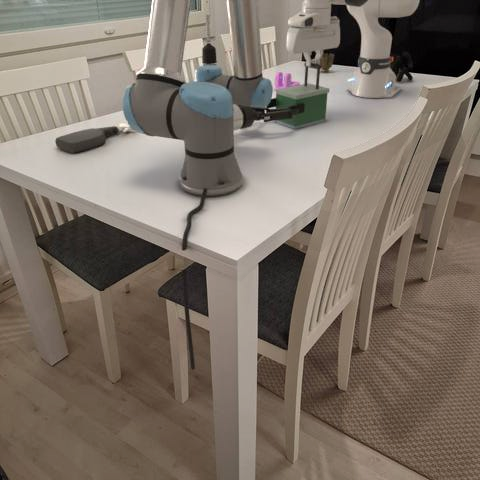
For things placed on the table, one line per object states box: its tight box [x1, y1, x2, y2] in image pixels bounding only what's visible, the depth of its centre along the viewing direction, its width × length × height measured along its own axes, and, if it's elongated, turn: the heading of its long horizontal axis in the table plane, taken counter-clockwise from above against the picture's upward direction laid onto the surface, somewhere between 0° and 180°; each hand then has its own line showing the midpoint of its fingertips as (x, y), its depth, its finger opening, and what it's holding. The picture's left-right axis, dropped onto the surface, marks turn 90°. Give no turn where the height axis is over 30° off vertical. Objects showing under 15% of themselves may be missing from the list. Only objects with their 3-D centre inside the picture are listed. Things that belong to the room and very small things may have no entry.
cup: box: [320, 52, 335, 73], centre depth 215 cm, size 8×7×8 cm
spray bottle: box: [54, 123, 134, 154], centre depth 138 cm, size 3×11×24 cm
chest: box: [274, 93, 329, 130], centre depth 149 cm, size 14×10×9 cm
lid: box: [275, 61, 330, 100], centre depth 144 cm, size 14×10×9 cm
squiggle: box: [390, 51, 414, 83], centre depth 198 cm, size 11×10×15 cm
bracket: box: [274, 71, 301, 91], centre depth 190 cm, size 13×6×7 cm, turn 143°
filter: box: [201, 14, 218, 66], centre depth 171 cm, size 6×6×30 cm
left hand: (292, 104), depth 146 cm, fingers closed on chest, 10 cm apart
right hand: (312, 65), depth 144 cm, fingers closed on lid
